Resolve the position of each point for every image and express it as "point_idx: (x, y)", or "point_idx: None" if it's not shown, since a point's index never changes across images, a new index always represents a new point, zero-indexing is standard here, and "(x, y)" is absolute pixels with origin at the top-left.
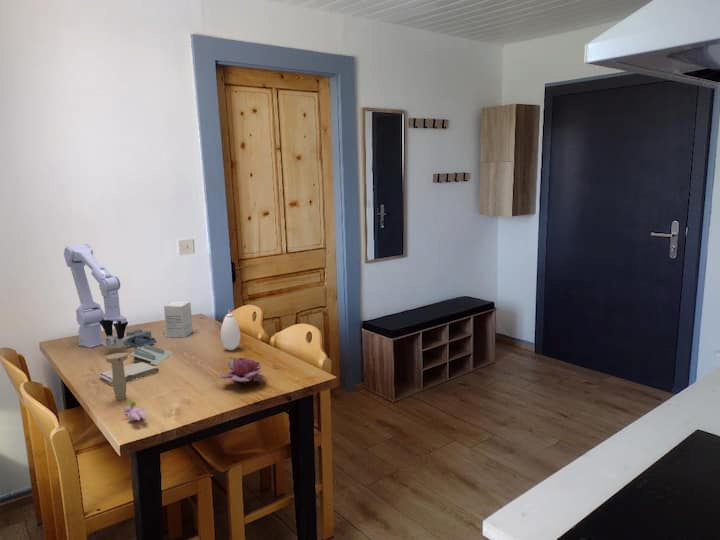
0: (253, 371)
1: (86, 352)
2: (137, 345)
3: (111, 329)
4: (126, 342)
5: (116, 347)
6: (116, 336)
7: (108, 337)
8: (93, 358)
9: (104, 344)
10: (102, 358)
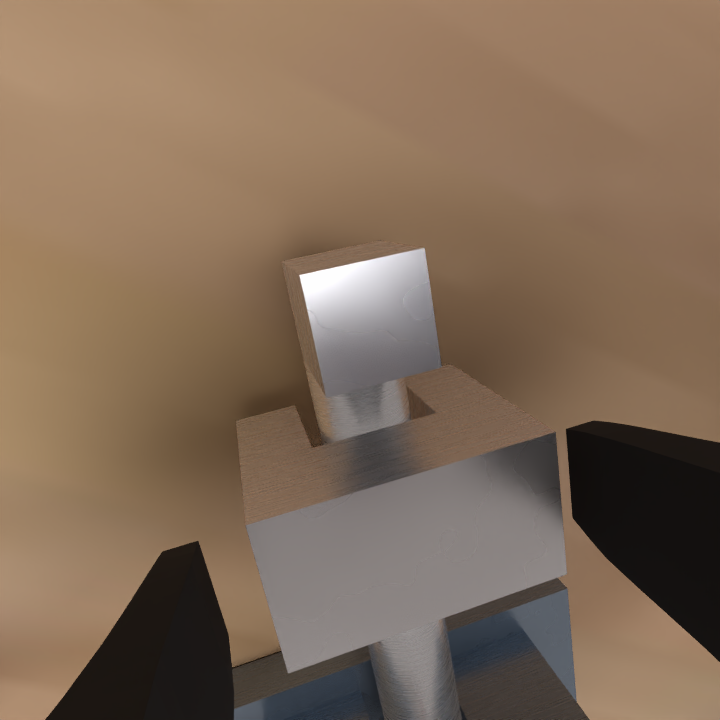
0: None
1: (640, 106)
2: (271, 682)
3: (687, 609)
4: (494, 609)
5: (248, 419)
6: (320, 558)
7: (512, 422)
8: (288, 23)
9: (347, 250)
10: (167, 123)
